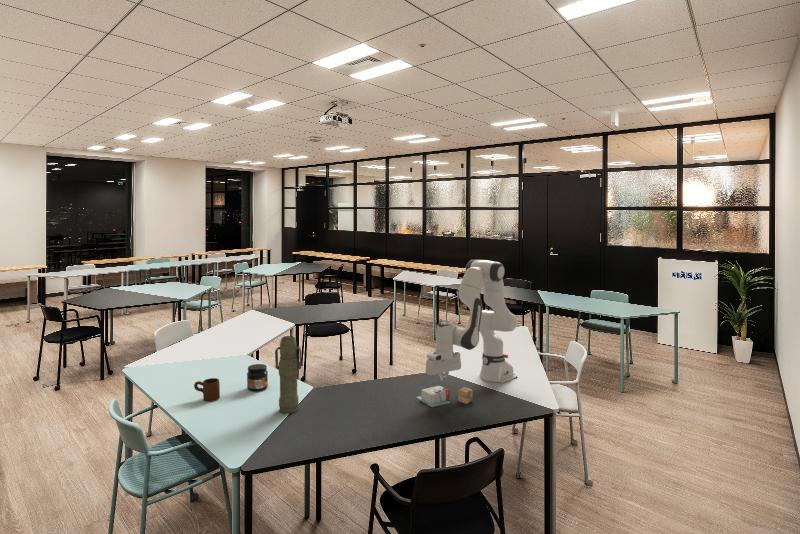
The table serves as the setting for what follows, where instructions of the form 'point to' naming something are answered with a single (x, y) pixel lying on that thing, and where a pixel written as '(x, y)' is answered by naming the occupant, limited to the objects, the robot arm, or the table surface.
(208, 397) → the mug
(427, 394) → the ink box
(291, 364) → the thermos
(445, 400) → the mat
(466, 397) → the oak block
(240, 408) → the table surface
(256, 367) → the supplement container
